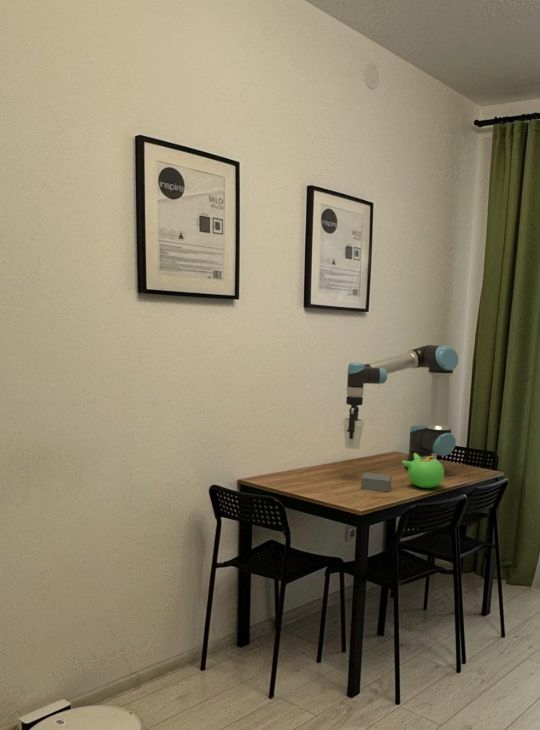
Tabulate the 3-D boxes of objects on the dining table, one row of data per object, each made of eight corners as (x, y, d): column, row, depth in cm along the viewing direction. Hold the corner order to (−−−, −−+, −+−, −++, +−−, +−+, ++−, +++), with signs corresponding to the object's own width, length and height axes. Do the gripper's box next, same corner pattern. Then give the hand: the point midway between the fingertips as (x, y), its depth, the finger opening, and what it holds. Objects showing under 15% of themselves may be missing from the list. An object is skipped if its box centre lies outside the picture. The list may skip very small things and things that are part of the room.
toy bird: (436, 494, 273) (438, 460, 272) (399, 487, 281) (401, 455, 281) (447, 486, 288) (449, 455, 288) (412, 480, 297) (414, 450, 296)
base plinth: (364, 483, 286) (364, 472, 286) (390, 486, 283) (391, 475, 283) (361, 489, 275) (361, 477, 274) (388, 492, 272) (389, 480, 271)
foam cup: (359, 445, 296) (360, 418, 296) (364, 449, 287) (366, 421, 287) (339, 445, 295) (341, 418, 294) (344, 449, 286) (346, 421, 285)
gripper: (349, 393, 301) (347, 439, 303) (343, 397, 280) (341, 447, 281) (365, 394, 300) (362, 441, 301) (360, 398, 278) (357, 448, 279)
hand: (352, 444), depth 291 cm, fingers closed on foam cup, 9 cm apart
